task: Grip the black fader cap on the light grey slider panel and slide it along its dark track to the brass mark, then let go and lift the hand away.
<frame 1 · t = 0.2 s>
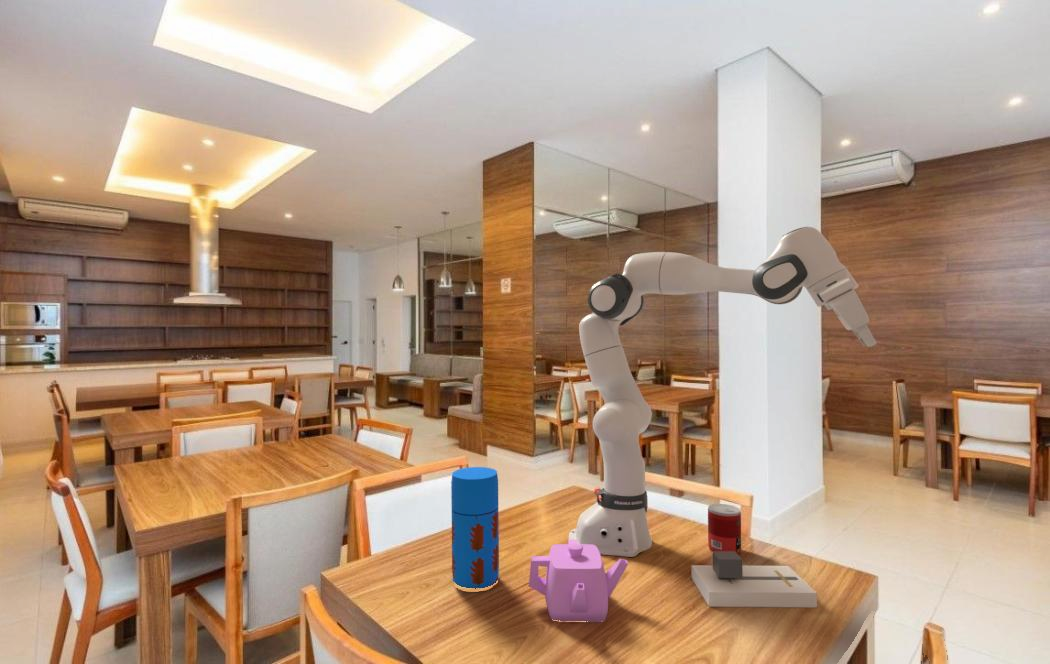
hand: (870, 345, 107), 54 cm above the table, tool tilted 30°, fingers open, 8 cm apart
slider panel: (750, 592, 109), on the table
teakettle: (578, 607, 104), on the table
fader: (727, 565, 109), point 6 cm above the table, slide at 0.0 cm
thermos: (475, 582, 115), on the table
canned food: (724, 551, 130), on the table
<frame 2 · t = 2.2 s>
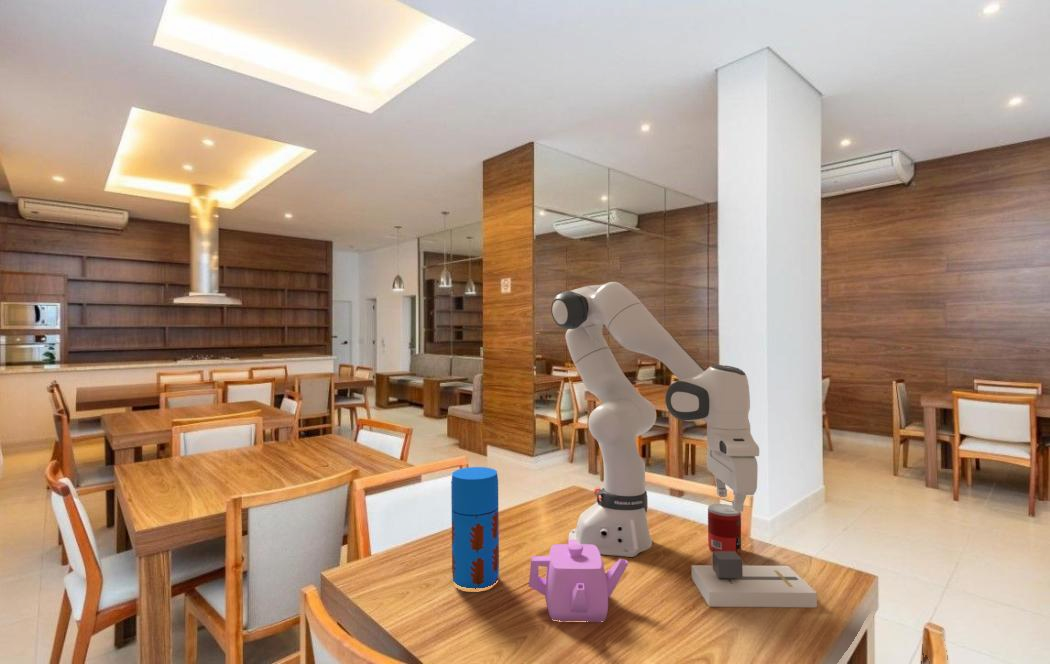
hand: (729, 503, 109), 20 cm above the table, tool pointing down, fingers open, 8 cm apart
nothing on the table moved.
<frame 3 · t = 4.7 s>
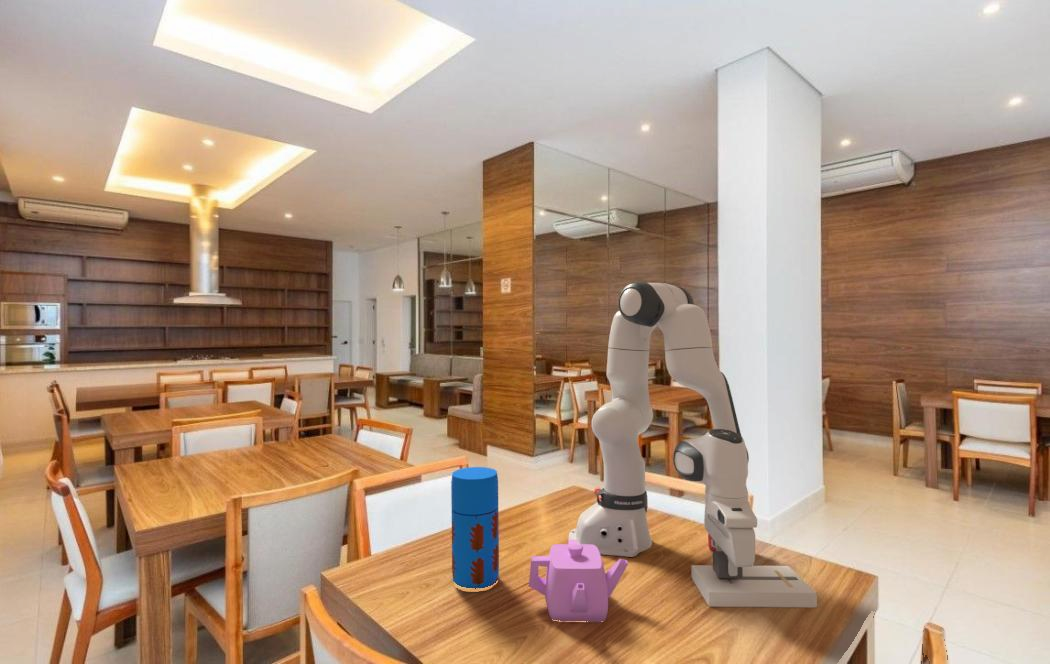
hand: (727, 568, 109), 5 cm above the table, tool pointing down, fingers closed on fader, 4 cm apart
fader: (727, 565, 109), point 6 cm above the table, slide at 0.0 cm, touching gripper
everything else where it was.
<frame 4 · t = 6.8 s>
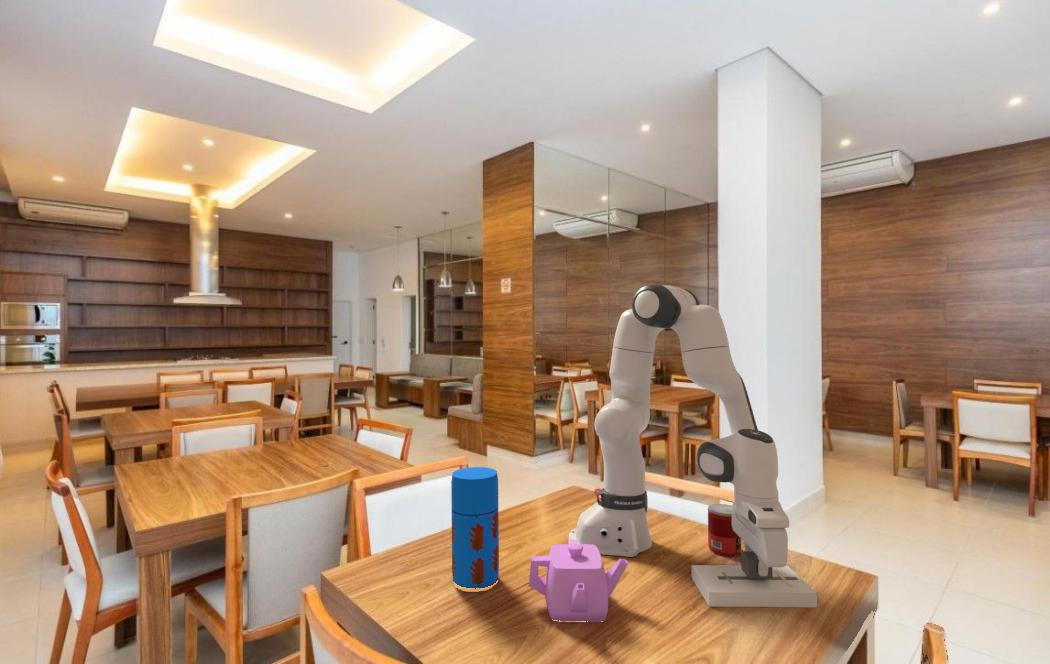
hand: (756, 568, 109), 5 cm above the table, tool pointing down, fingers closed on fader, 4 cm apart
fader: (756, 565, 109), point 6 cm above the table, slide at 6.4 cm, touching gripper
everything else where it was.
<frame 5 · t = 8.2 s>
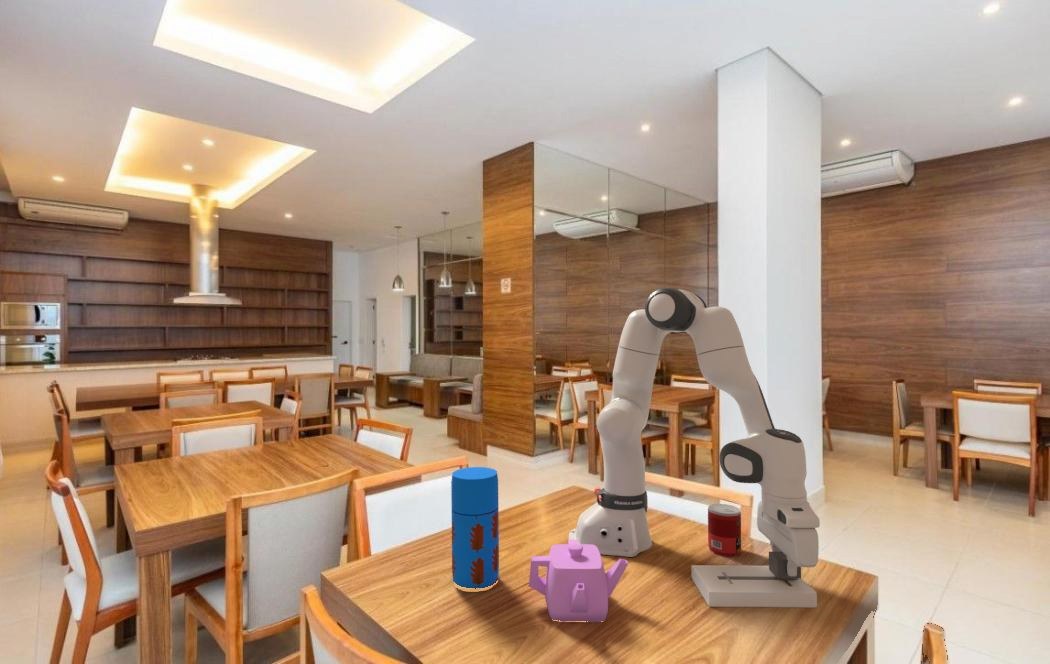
hand: (784, 568, 108), 5 cm above the table, tool pointing down, fingers closed on fader, 4 cm apart
fader: (784, 566, 108), point 6 cm above the table, slide at 12.4 cm, touching gripper
everything else where it was.
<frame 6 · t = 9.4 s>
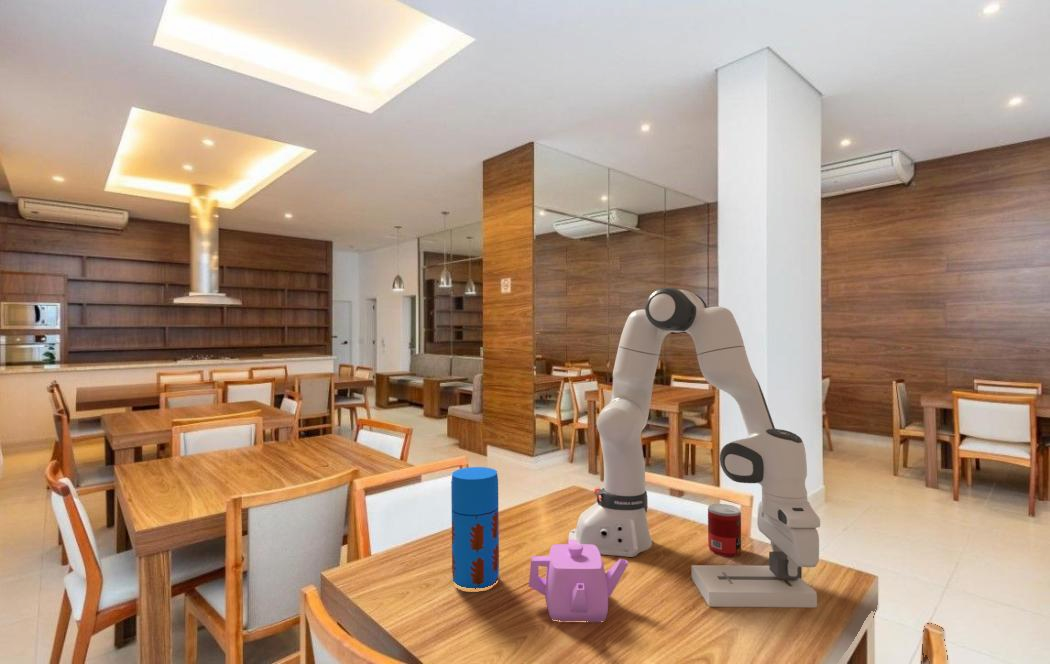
hand: (785, 568, 108), 5 cm above the table, tool pointing down, fingers closed on fader, 4 cm apart
fader: (785, 566, 108), point 6 cm above the table, slide at 12.5 cm, touching gripper
everything else where it was.
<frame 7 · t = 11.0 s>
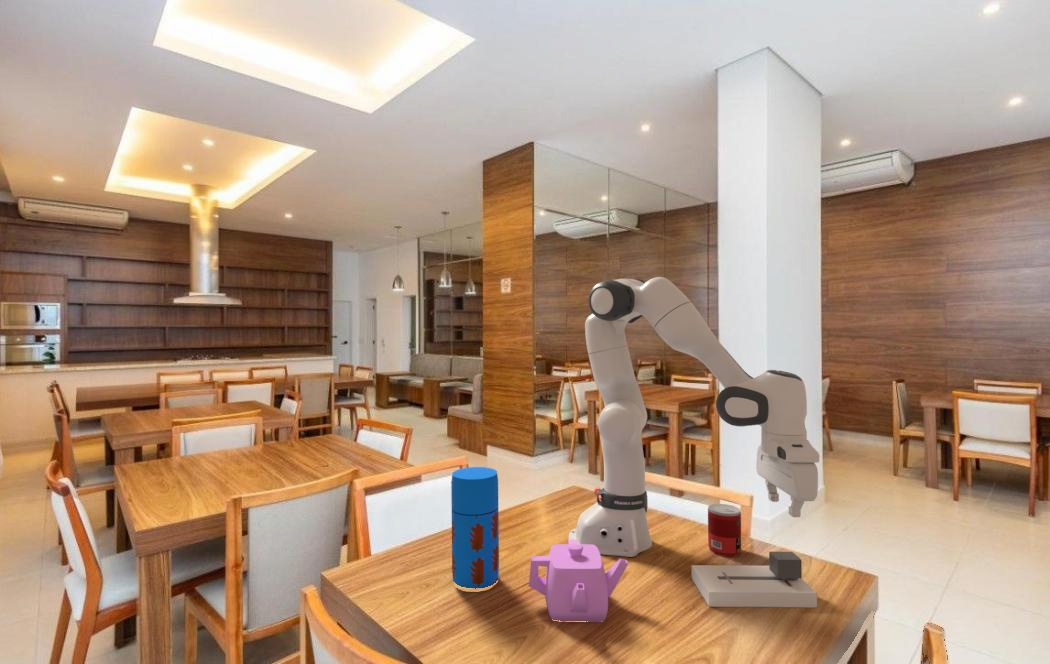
hand: (783, 508, 109), 18 cm above the table, tool pointing down, fingers open, 8 cm apart
fader: (785, 566, 108), point 6 cm above the table, slide at 12.5 cm
everything else where it was.
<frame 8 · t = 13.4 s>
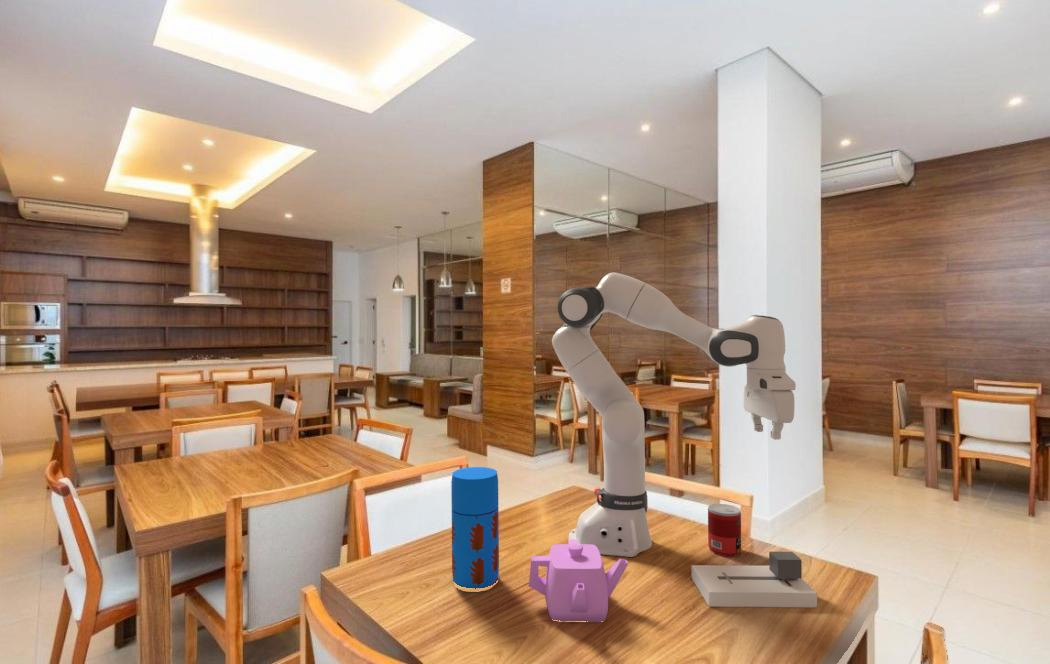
hand: (766, 435, 124), 31 cm above the table, tool pointing down, fingers open, 8 cm apart
nothing on the table moved.
at the end: fader slide at 12.5 cm; the gripper is holding nothing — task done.
